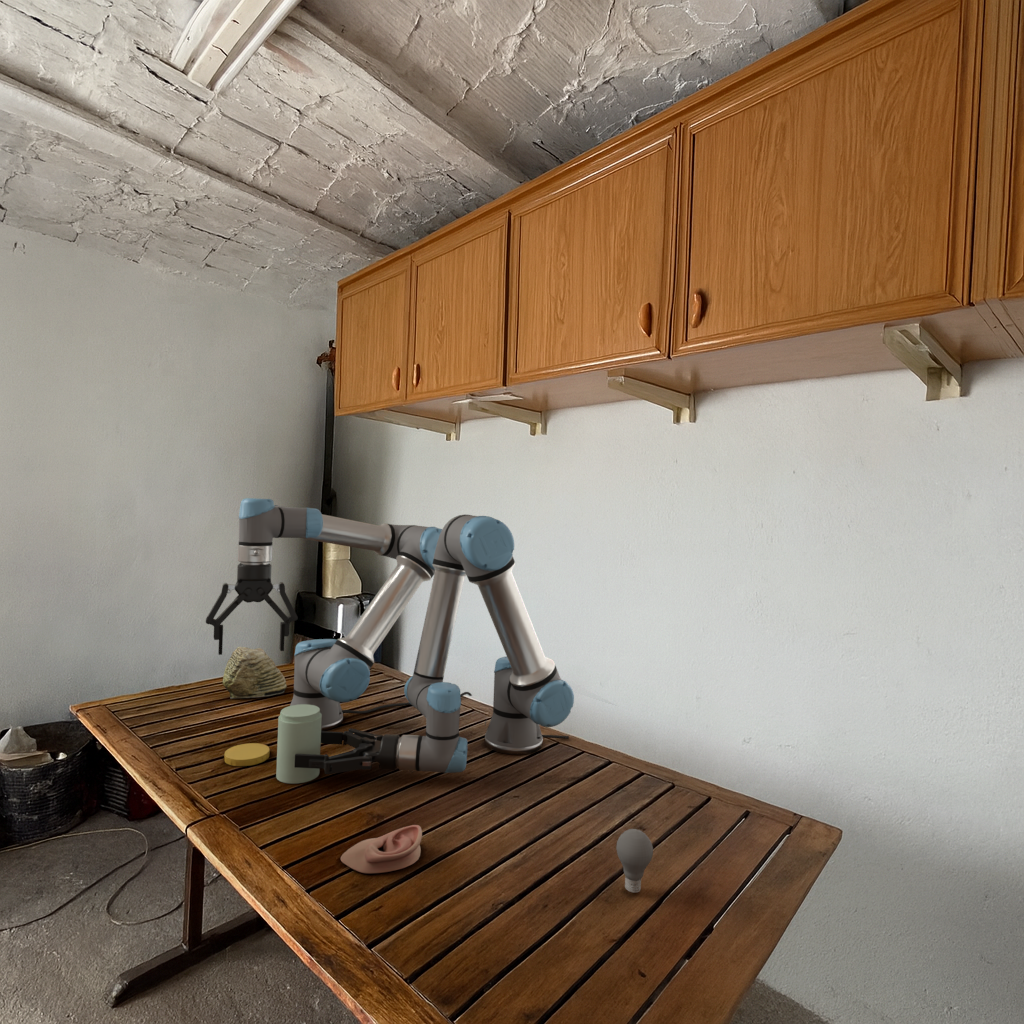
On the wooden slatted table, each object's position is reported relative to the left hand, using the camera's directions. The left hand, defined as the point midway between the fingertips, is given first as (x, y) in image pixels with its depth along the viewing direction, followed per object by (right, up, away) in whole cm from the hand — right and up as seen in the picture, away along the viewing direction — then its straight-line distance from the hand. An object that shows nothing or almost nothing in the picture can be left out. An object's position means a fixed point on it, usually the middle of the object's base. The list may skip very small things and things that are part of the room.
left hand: (251, 651), depth 151 cm
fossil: (-18, -24, +47) cm, 56 cm away
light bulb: (+82, -30, -46) cm, 99 cm away
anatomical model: (+39, -28, -39) cm, 62 cm away
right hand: (+15, -20, -8) cm, 27 cm away
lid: (-1, -24, 0) cm, 24 cm away
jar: (+14, -26, -7) cm, 31 cm away
